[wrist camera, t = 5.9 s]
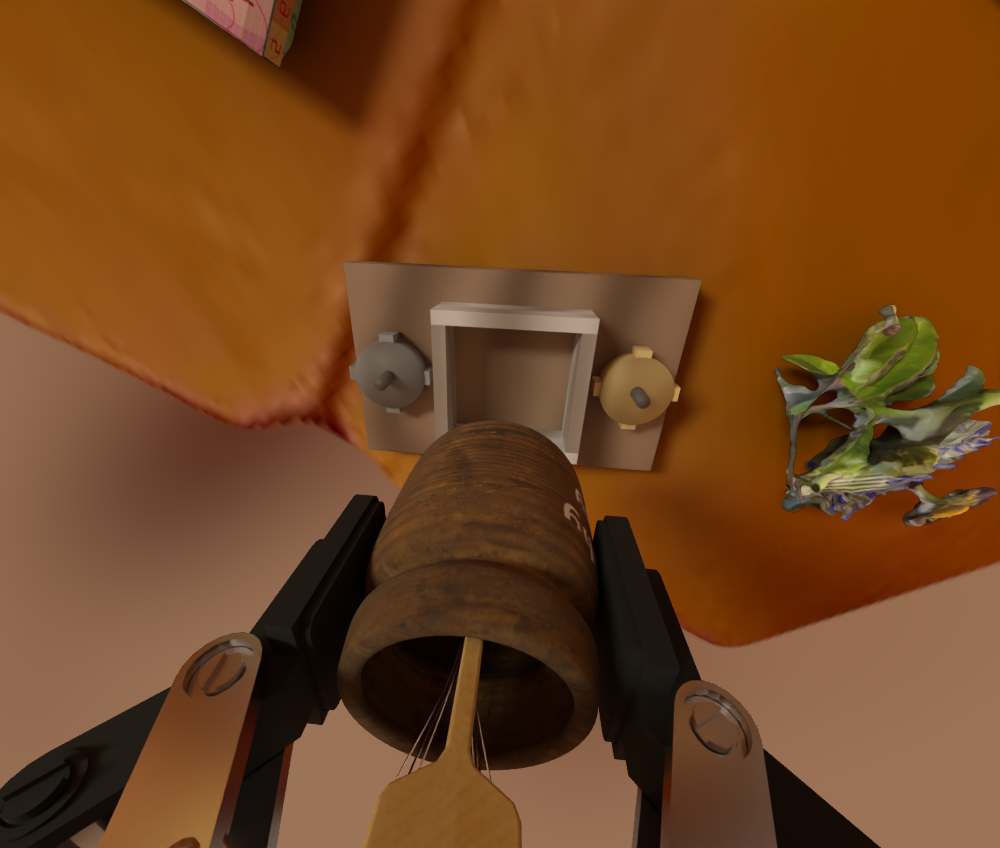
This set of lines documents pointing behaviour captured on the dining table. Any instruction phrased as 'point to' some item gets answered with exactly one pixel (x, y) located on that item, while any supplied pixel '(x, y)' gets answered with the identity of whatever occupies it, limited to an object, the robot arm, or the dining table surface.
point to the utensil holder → (475, 633)
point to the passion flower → (909, 436)
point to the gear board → (518, 355)
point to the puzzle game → (255, 23)
